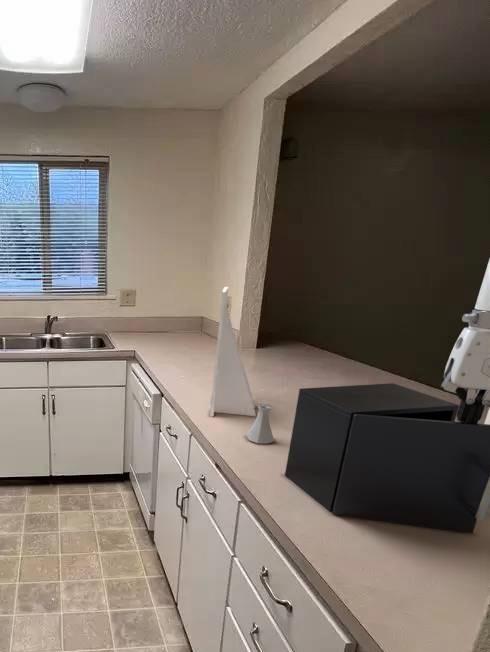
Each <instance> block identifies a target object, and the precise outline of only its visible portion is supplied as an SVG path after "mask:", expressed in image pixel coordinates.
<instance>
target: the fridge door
mask: <svg viewBox="0 0 490 652" xmlns="http://www.w3.org/2000/svg"><path fill="white" fill-rule="evenodd" d="M489 511H490V424H487V423H464V422H460V421H454V422H451V421H439V420H426V419H413V418H401V417H388V416H375V415H363V414H353V419H352V424H351V428H350V433H349V437H348V442H347V446H346V451H345V455H344V460H343V464H342V469H341V474H340V478H339V483H338V487H337V492H336V496H335V501H334V505H333V510H332V511H331V513H332V515H336V516H343V517H350V518H358V519H366V520H371V521H372V520H373V521H379V522H387V523H395V524H403V525H410V526H419V527H423V528H431V529H432V528H433V529H438V530H439V529H441V530H448V531H455V532H463V533H471V534H473V532H474V529H475V527H476V524H477V521H486V519H487V516H488V513H489Z"/></svg>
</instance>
